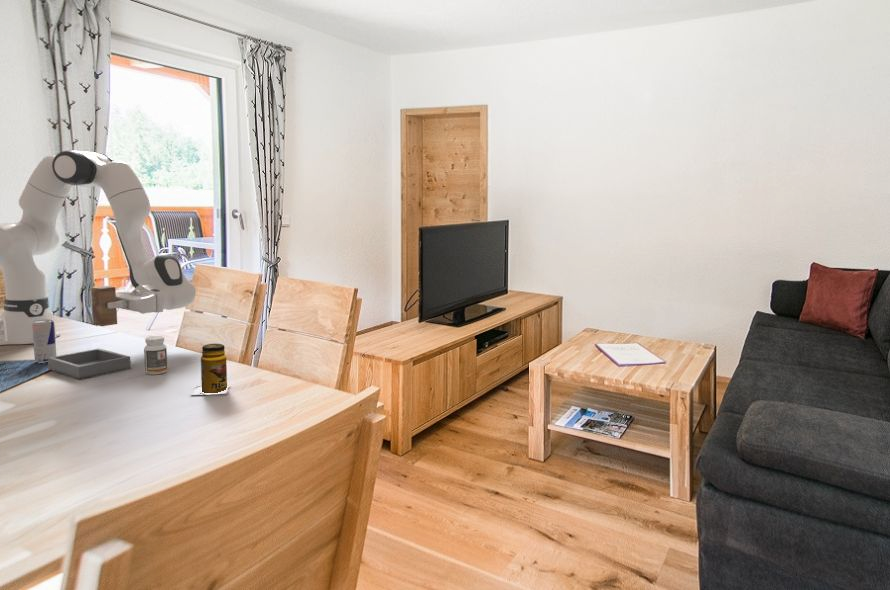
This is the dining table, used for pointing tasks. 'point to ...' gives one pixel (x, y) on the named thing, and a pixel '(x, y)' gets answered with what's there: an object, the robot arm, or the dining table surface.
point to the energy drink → (44, 340)
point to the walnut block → (103, 305)
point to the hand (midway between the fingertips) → (101, 304)
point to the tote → (89, 363)
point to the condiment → (213, 368)
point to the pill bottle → (155, 355)
